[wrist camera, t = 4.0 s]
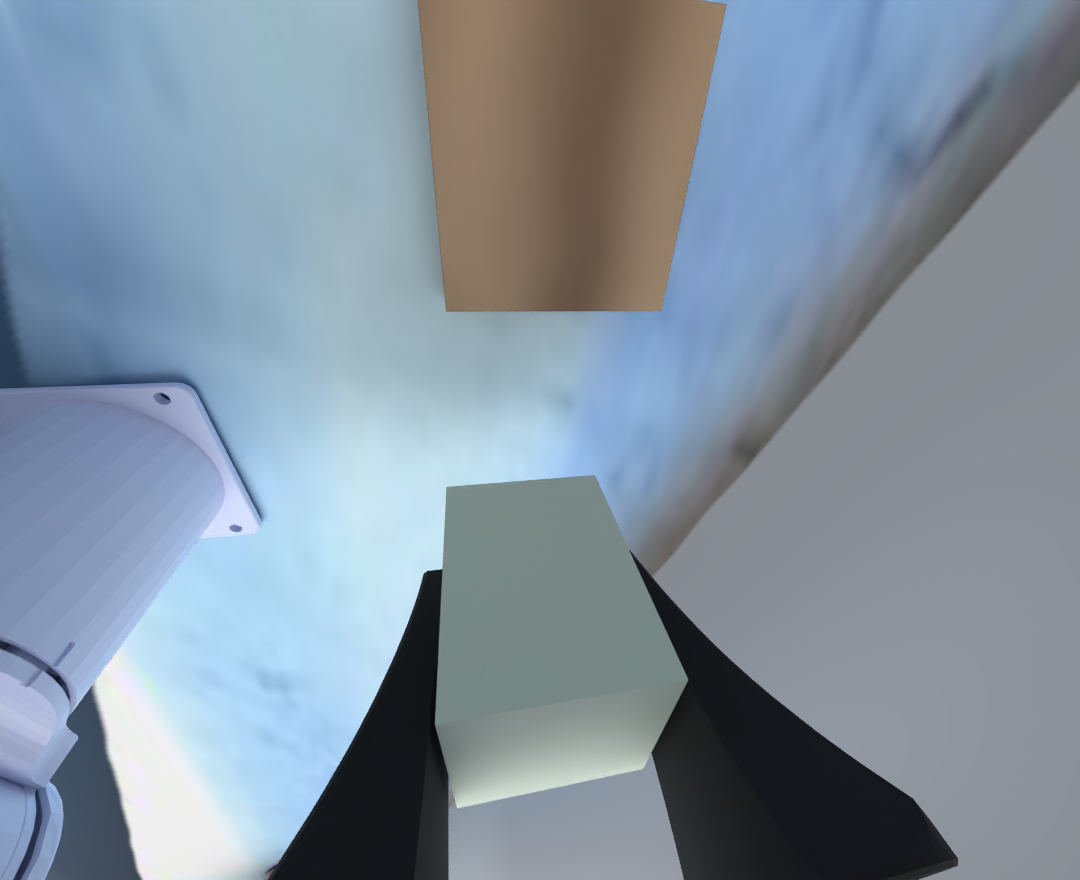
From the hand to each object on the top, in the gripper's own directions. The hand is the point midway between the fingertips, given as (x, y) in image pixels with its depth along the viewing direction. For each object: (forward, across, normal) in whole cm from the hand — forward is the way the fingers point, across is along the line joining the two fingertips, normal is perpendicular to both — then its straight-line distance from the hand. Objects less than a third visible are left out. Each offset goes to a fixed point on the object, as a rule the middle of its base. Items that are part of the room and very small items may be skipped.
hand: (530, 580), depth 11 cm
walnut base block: (+9, -2, -10) cm, 14 cm away
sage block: (+2, 0, 0) cm, 2 cm away
